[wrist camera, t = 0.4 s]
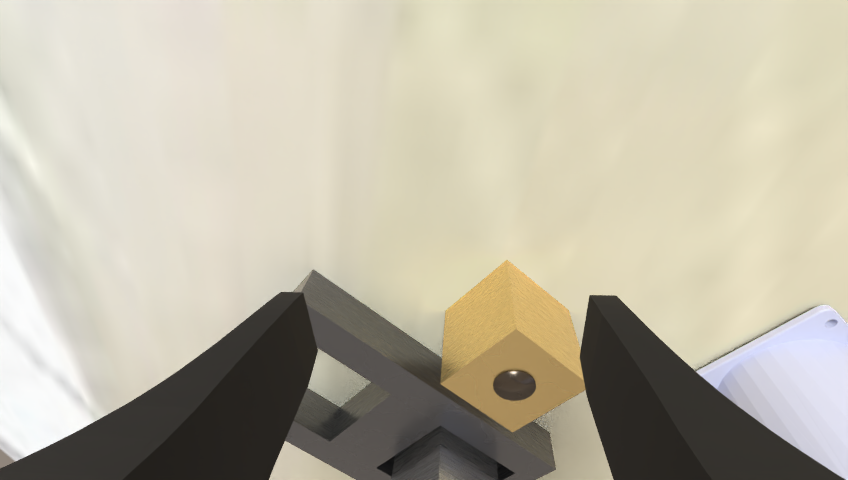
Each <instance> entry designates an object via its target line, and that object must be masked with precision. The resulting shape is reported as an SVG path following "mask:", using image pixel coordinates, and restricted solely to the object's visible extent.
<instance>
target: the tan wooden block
mask: <svg viewBox="0 0 848 480" xmlns="http://www.w3.org/2000/svg"><path fill="white" fill-rule="evenodd" d="M580 352H581V350H580V347H579V343H578V340H577V337H576V333H575V330H574V327H573V323H572V320H571V316H570V313H569V310H568V309H567V308H565V307H564V306H563V305H562V304H560V303H559V302H558V301H557V300H556V299H554V298H553V297H552V296H551V295H549V294H548V293H547V292H546V291H545V290H543V289H542V288H541V287H540V286H538V285H537V284H536V283H535V282H534V281H532V280H531V279H530V278H529V277H527V276H526V275H525V274H524V273H523V272H521V271H520V270H519V269H518V268H516V267H515V266H514V265H513V264H512V263H510V262H509V261H508V260H506V261H505V262H504V263H503V264H501V265H500V266H499V267H498V268H497V269H495V270H494V271H493V272H492V273H491V274H489V275H488V276H487V277H486V278H485V279H483V280H482V281H481V282H480V283H478V284H477V285H476V286H475V287H474V288H472V289H471V290H470V291H469V292H468V293H466V294H465V295H464V296H463V297H462V298H460V299H459V300H458V301H457V302H456V303H454V304H453V305H452V306H451V307H450V308H448V309H447V310H446V313H445V326H444V340H443V354H442V368H441V382H440V384H441V385H443V386H444V387H446V388H447V389H449V390H450V391H452V392H453V393H455V394H456V395H458V396H459V397H460V398H462V399H463V400H465V401H466V402H468V403H469V404H471V405H472V406H474V407H475V408H477V409H478V410H480V411H481V412H483V413H484V414H486V415H487V416H489V417H490V418H492V419H493V420H495V421H496V422H498V423H499V424H501V425H502V426H504V427H505V428H507V429H508V430H510V431H511V432H514V431H516V430H518V429H520V428H521V427H523V426H525V425H526V424H528V423H530V422H531V421H533V420H535V419H537V418H538V417H540V416H542V415H543V414H545V413H547V412H548V411H550V410H552V409H554V408H555V407H557V406H559V405H560V404H562V403H564V402H565V401H567V400H569V399H571V398H572V397H574V396H576V395H577V394H579V393H581V392H582V391H584V390H586V389H585V384H584V379H583V373H582V368H581V362H580Z"/></svg>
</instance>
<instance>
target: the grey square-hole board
mask: <svg viewBox="0 0 848 480" xmlns="http://www.w3.org/2000/svg"><path fill="white" fill-rule="evenodd" d="M293 292H303V293H304V297H305V301H306V305H307V309H308V313H309V317H310V321H311V325H312V329H313V333H314V337H315V341H316V345H317V348H319V349H321V350H322V351H324V352H325V353H327V354H328V355H330V356H332V357H333V358H335V359H336V360H338V361H339V362H341V363H343V364H344V365H346V366H347V367H349V368H351V369H352V370H354V371H355V372H357V373H358V374H360V375H362V376H363V377H365V378H366V379H368V380H369V381H371V383H370V384H369V385H368V386H366V387H365V388H364V389H363V390H362V391H360V392H359V393H358V394H357V395H355V396H354V397H353V398H352V399H350V400H349V401H348V402H347V403H346V404H344V405H343V406H342V407H341V408H339V407H338V406H336V405H334V404H333V403H331V402H329V401H328V400H326V399H324V398H323V397H321V396H319V395H318V394H316V393H314V392H313V391H311V390H309V389H308V388H307V389H306V392H305V394H304V397H303V399H302V402H301V404H300V406H299V409H298V411H297V413H296V416H295V418H294V421H293V423H292V425H291V427H290V430H289V432H288V434H287V437H286V439H285V441H287V442H289V443H291V444H292V445H294V446H296V447H298V448H300V449H301V450H303V451H305V452H307V453H309V454H311V455H312V456H314V457H316V458H318V459H320V460H321V461H323V462H325V463H327V464H329V465H330V466H332V467H334V468H336V469H338V470H340V471H341V472H343V473H345V474H347V475H349V476H350V477H352V478H354V479H356V480H391V477H392V471H393V465H394V459H395V455H396V454H398V453H399V452H401V451H402V450H404V449H405V448H407V447H408V446H410V445H411V444H413V443H414V442H416V441H418V440H419V439H421V438H422V437H424V436H425V435H427V434H428V433H430V432H431V431H433V430H434V429H436V428H437V427H439V426H442V427H443V428H445V429H447V430H448V431H450V432H451V433H453V434H455V435H456V436H458V437H459V438H461V439H462V440H464V441H466V442H467V443H469V444H470V445H472V446H473V447H475V448H477V449H478V450H480V451H481V452H483V453H484V454H486V455H488V456H489V457H491V458H492V459H494V460H495V461H497V473H498V480H536V479H538V478H540V477H542V476H544V475H546V474H548V473H550V472H552V471H554V470H556V467H555V462H554V456H553V450H552V445H551V439H550V433H549V432H547V431H546V430H544V429H543V428H542V427H540V426H539V425H537V424H536V423H534V422H533V421H531V422H530V423H528V424H526V425H525V426H523V427H521V428H520V429H518V430H516V431H514V432H511V431H510V430H508V429H507V428H505V427H504V426H502V425H501V424H499V423H498V422H496V421H495V420H493V419H492V418H490V417H489V416H487V415H486V414H484V413H483V412H481V411H480V410H478V409H477V408H475V407H474V406H472V405H471V404H469V403H468V402H466V401H465V400H463V399H462V398H460V397H459V396H458V395H456V394H455V393H453V392H452V391H450V390H449V389H447V388H446V387H444V386H443V385H441V384H440V382H441V368H442V358H440V357H439V356H437V355H436V354H435V353H433V352H432V351H430V350H429V349H427V348H426V347H424V346H423V345H422V344H420V343H419V342H417V341H416V340H414V339H413V338H411V337H410V336H408V335H407V334H406V333H404V332H403V331H401V330H400V329H398V328H397V327H395V326H394V325H393V324H391V323H390V322H388V321H387V320H385V319H384V318H382V317H381V316H380V315H378V314H377V313H375V312H374V311H372V310H371V309H369V308H368V307H367V306H365V305H364V304H362V303H361V302H359V301H358V300H356V299H355V298H354V297H352V296H351V295H349V294H348V293H346V292H345V291H343V290H342V289H341V288H339V287H338V286H336V285H335V284H333V283H332V282H330V281H329V280H327V279H326V278H325V277H323V276H322V275H320V274H319V273H317V272H316V271H314V270H312V271H311V273H310V274H309V275H308V276H307V277H306V278H305V279H304V280H303V281H302V283H301V284H300V285H299V286H298V287H297V288H296V289H295V290H294V291H293Z"/></svg>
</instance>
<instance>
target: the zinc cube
mask: <svg viewBox="0 0 848 480" xmlns="http://www.w3.org/2000/svg"><path fill="white" fill-rule="evenodd" d="M391 480H498V473H497V461H495V460H494V459H492V458H491V457H489V456H488V455H486V454H484V453H483V452H481V451H480V450H478V449H477V448H475V447H473V446H472V445H470V444H469V443H467V442H466V441H464V440H462V439H461V438H459V437H458V436H456V435H455V434H453V433H451V432H450V431H448V430H447V429H445V428H443V427H442V426H439V427H437V428H436V429H434V430H433V431H431V432H430V433H428V434H427V435H425V436H424V437H422V438H421V439H419V440H418V441H416V442H414V443H413V444H411V445H410V446H408V447H407V448H405V449H404V450H402V451H401V452H399V453H398V454H396V455H395V459H394V465H393V471H392V477H391Z"/></svg>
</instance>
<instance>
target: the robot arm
mask: <svg viewBox="0 0 848 480" xmlns="http://www.w3.org/2000/svg"><path fill="white" fill-rule="evenodd" d="M828 320H829V321H828ZM317 351H318V349H317V345H316V341H315V337H314V333H313V329H312V325H311V321H310V317H309V313H308V309H307V305H306V301H305V297H304V293H303V292H281V293H279V294H278V295H276V296H275V297H274V298H272V299H271V300H270V301H269V302H267V303H266V304H265V305H263V306H262V307H261V308H260V309H259V310H257V311H256V312H255V313H254V314H252V315H251V316H250V317H249V318H247V319H246V320H245V321H244V322H242V323H241V324H240V325H239V326H237V327H236V328H235V329H234V330H232V331H231V332H230V333H229V334H227V335H226V336H225V337H223V338H222V339H221V340H220V341H218V342H217V343H216V344H214V345H213V346H212V347H210V348H209V349H208V350H206V351H205V352H204V353H202V354H201V355H199V356H198V357H197V358H195V359H194V360H193V361H191V362H190V363H189V364H187V365H186V366H184V367H183V368H182V369H180V370H179V371H177V372H176V373H175V374H173V375H172V376H170V377H169V378H167V379H166V380H164V381H163V382H161V383H160V384H158V385H157V386H155V387H153V388H152V389H150V390H149V391H147V392H145V393H144V394H142V395H141V396H139V397H137V398H136V399H134V400H132V401H131V402H129V403H127V404H126V405H124V406H122V407H120V408H119V409H117V410H115V411H113V412H111V413H110V414H108V415H106V416H104V417H102V418H101V419H99V420H97V421H95V422H93V423H92V424H90V425H88V426H86V427H84V428H83V429H81V430H79V431H77V432H75V433H73V434H71V435H69V436H67V437H65V438H63V439H61V440H59V441H57V442H56V443H54V444H52V445H50V446H48V447H46V448H43V449H41V450H39V451H37V452H35V453H33V454H31V455H29V456H27V457H24V458H22V459H20V460H18V461H16V462H14V463H12V464H10V465H7V466H5V467H3V468H1V469H0V480H269V478H270V475H271V472H272V470H273V467H274V465H275V462H276V460H277V458H278V455H279V453H280V451H281V448H282V446H283V444H284V441H285V439H286V437H287V434H288V432H289V430H290V427H291V425H292V423H293V421H294V418H295V416H296V413H297V411H298V409H299V406H300V404H301V402H302V399H303V397H304V394H305V392H306V389H307V387H308V384H309V381H310V377H311V374H312V370H313V367H314V363H315V359H316V355H317ZM580 362H581V368H582V373H583V379H584V384H585V389H586V394H587V398H588V401H589V404H590V407H591V411H592V414H593V417H594V420H595V423H596V426H597V429H598V432H599V436H600V439H601V442H602V445H603V448H604V451H605V454H606V457H607V460H608V463H609V466H610V469H611V472H612V476H613V479H614V480H848V324H847V322H846V321H845V320H844V319H843V318H842V317H841V316H840V315H839V314H838V313H837V312H836V311H835V310H834V309H833V308H832V307H831V306H829V305H820V306H817V307H815V308H813V309H811V310H809V311H807V312H805V313H803V314H802V315H800V316H798V317H796V318H794V319H792V320H790V321H789V322H787V323H785V324H783V325H781V326H779V327H777V328H776V329H774V330H772V331H770V332H768V333H766V334H764V335H762V336H761V337H759V338H757V339H755V340H753V341H751V342H749V343H748V344H746V345H744V346H742V347H740V348H738V349H736V350H735V351H733V352H731V353H729V354H727V355H725V356H723V357H721V358H720V359H718V360H716V361H714V362H712V363H710V364H708V365H707V366H705V367H703V368H701V369H699V370H697V371H694V370H693V369H692V368H691V367H690V366H689V365H688V364H686V363H685V362H684V361H683V360H682V359H681V358H680V357H679V356H678V355H676V354H675V353H674V352H673V351H672V350H671V349H670V348H669V347H668V346H667V345H666V344H665V343H664V342H663V341H661V340H660V339H659V338H658V337H657V336H656V335H655V334H654V333H653V332H652V331H651V330H650V329H649V328H648V327H647V326H646V325H645V324H644V323H643V322H642V321H641V320H640V319H639V318H638V317H637V316H636V315H635V314H634V313H633V312H632V311H631V310H630V309H629V308H628V307H627V306H626V305H625V304H624V303H623V302H622V301H621V300H620V299H619V298H618V297H617V296H603V295H590V296H589V302H588V309H587V315H586V321H585V327H584V333H583V339H582V345H581V352H580Z"/></svg>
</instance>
